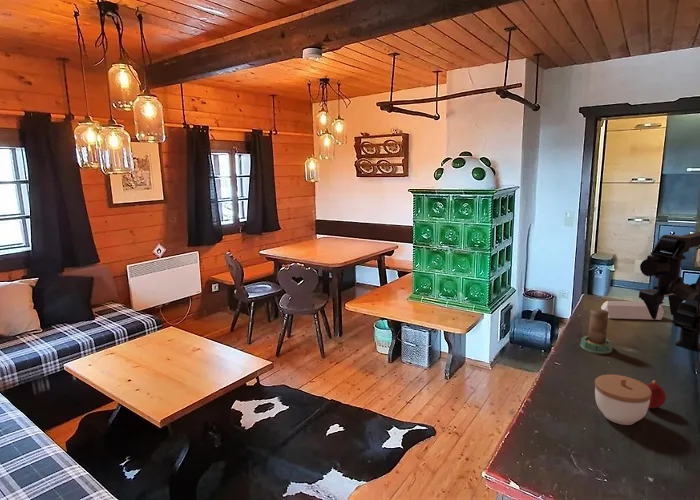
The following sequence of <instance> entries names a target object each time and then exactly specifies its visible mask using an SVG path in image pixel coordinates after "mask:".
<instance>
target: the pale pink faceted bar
mask: <svg viewBox="0 0 700 500" xmlns="http://www.w3.org/2000/svg"><path fill="white" fill-rule="evenodd" d="M600 308H601V309H602V310H606V311H608V319H622V320H623V319H625V320H653V321H654V320H659V321H660V320H662V319H663V317H664V312H665V310H664V308H663V306H662V304H661V305H659V309H658V313H657V317H656V319H652V317H651V315H650V313H649V310H648V308H647V306H646V304H645V302H644V301H631V300H628V301H627V300H606V301H605V302H603V304H602V305H601V306H600Z"/></svg>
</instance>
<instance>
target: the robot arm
mask: <svg viewBox="0 0 700 500" xmlns="http://www.w3.org/2000/svg"><path fill="white" fill-rule="evenodd" d="M696 247H700V231H697V232H696V231H695V232H692V233H688V234H683V235H677V234H664V235H662V236H661V237H660V238H659V239H658V241H657V242H656V244H655V246H653V249H652V251H651V252H650V254H647V257H646V259H643V260H642V261H641V263H640V264H639V268H640V272H641V273H642V275H644V276H646V277H654V278H655V279H657V285H654V286H653V289H650V288H647V289H642V290H640V291H639V293H638V299H641V301H642V302H645V304H646V306H647V308H648V310H649V313H650V315H651V317H652V319H651V320H653V319H656V317H657V313H658V309H659V305H661V306H662V305H663V304H665V302H664V299H665V297H668V304H669V305H668V306H669V310H670V315H671V316H673V318H672V319H673V325H674V327H678V328H680V331H679V338H678V341H676V342H675V343H674V344H675V346H679V347H683V348H687V349H691V350H695V351H697V350H699V349H700V274H699V275H698V277H697V280H696V281H695V283H694V282H693V283H690V284H689V283H685V282H684V278H683V276H680V273H681V267H682V261H683V260H686V258H687V257H686V256H685V255H684V254H686V253H687V252H690V249H691V248H696Z"/></svg>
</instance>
